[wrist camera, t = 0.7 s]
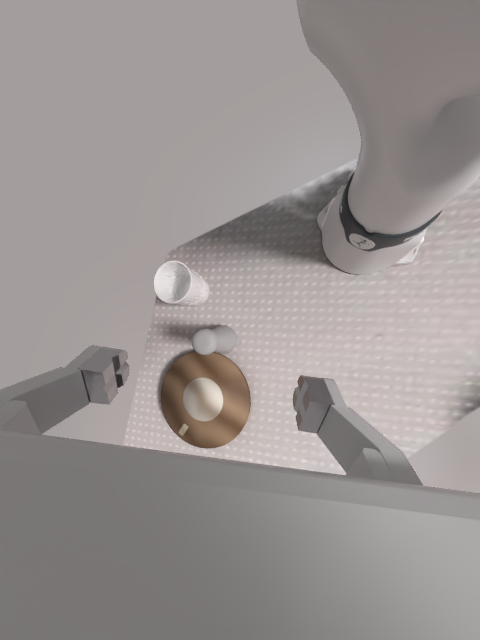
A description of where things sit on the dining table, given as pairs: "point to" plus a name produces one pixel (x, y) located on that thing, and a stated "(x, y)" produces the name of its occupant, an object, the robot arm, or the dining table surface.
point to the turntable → (205, 399)
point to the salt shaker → (214, 340)
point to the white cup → (180, 284)
